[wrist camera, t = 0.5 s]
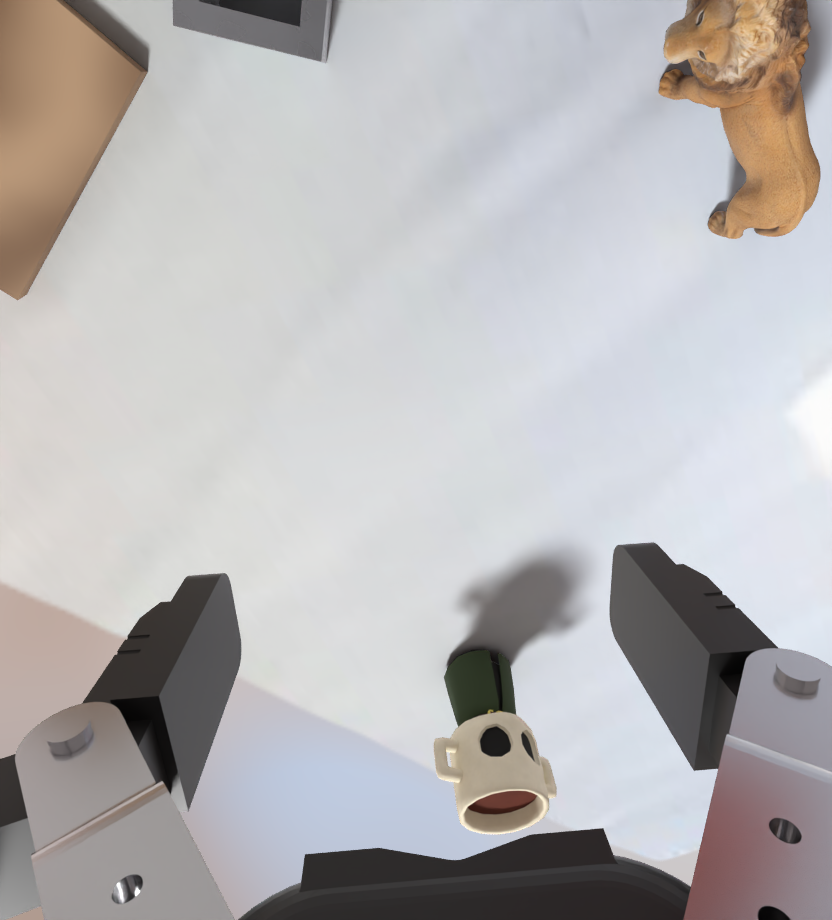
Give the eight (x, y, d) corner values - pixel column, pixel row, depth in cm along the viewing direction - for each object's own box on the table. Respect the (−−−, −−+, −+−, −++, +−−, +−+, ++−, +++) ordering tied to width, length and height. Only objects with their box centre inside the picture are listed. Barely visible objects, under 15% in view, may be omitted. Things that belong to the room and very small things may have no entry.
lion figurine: (594, 37, 28) (678, 24, 21) (692, -59, 27) (821, -111, 19) (723, 261, 35) (822, 312, 28) (808, 196, 33) (937, 231, 26)
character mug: (544, 656, 55) (590, 799, 44) (507, 699, 58) (540, 843, 47) (441, 629, 51) (462, 777, 41) (408, 677, 55) (419, 825, 44)
